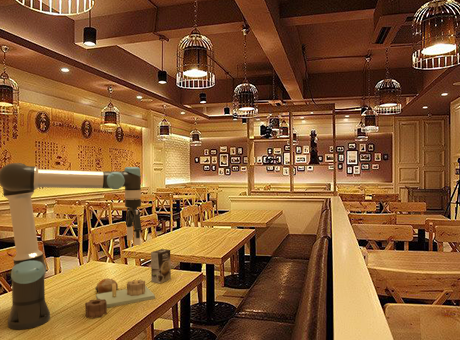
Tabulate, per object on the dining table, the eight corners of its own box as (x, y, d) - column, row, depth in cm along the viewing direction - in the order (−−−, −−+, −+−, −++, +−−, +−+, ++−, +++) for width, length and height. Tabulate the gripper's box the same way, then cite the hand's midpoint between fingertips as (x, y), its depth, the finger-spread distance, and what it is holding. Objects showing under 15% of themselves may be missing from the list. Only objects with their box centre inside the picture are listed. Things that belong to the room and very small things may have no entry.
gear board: (101, 308, 165) (101, 291, 165) (96, 297, 179) (95, 281, 179) (155, 298, 176) (154, 282, 176) (145, 288, 190) (145, 273, 190)
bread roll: (107, 302, 183) (113, 287, 182) (90, 292, 184) (96, 278, 184) (117, 295, 192) (123, 281, 192) (100, 285, 194) (106, 272, 193)
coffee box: (160, 283, 198) (159, 253, 198) (151, 281, 201) (150, 251, 201) (171, 279, 206) (170, 249, 205) (162, 277, 209) (161, 248, 209)
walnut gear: (87, 319, 154) (86, 307, 153) (84, 312, 161) (84, 301, 161) (108, 315, 157) (107, 303, 157) (104, 308, 165) (104, 297, 165)
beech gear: (134, 297, 174) (134, 286, 174) (123, 293, 180) (123, 283, 179) (148, 292, 181) (148, 281, 181) (138, 288, 186) (137, 278, 186)
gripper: (148, 200, 173) (148, 246, 174) (134, 196, 195) (134, 237, 195) (131, 201, 170) (132, 248, 170) (119, 197, 191) (119, 238, 192)
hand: (133, 242), depth 183 cm, fingers open, 13 cm apart
